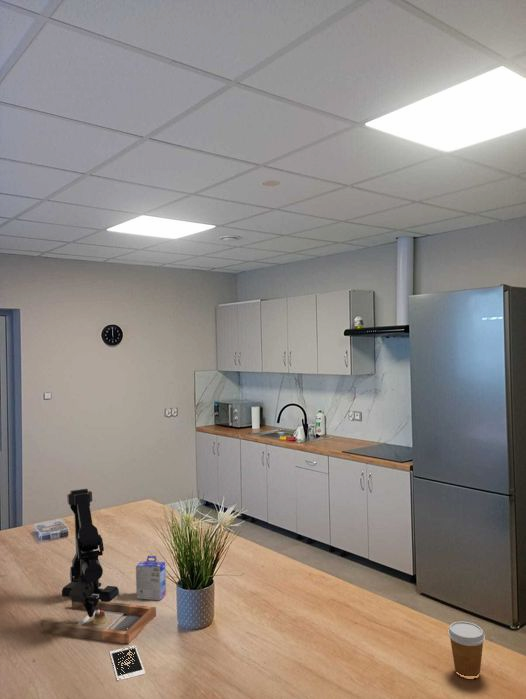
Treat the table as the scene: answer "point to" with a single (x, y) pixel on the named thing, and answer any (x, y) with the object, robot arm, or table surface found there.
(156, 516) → the table surface
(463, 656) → the disposable coffee cup
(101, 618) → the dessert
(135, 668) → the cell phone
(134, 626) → the walled channel
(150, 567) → the ink cartridge box
